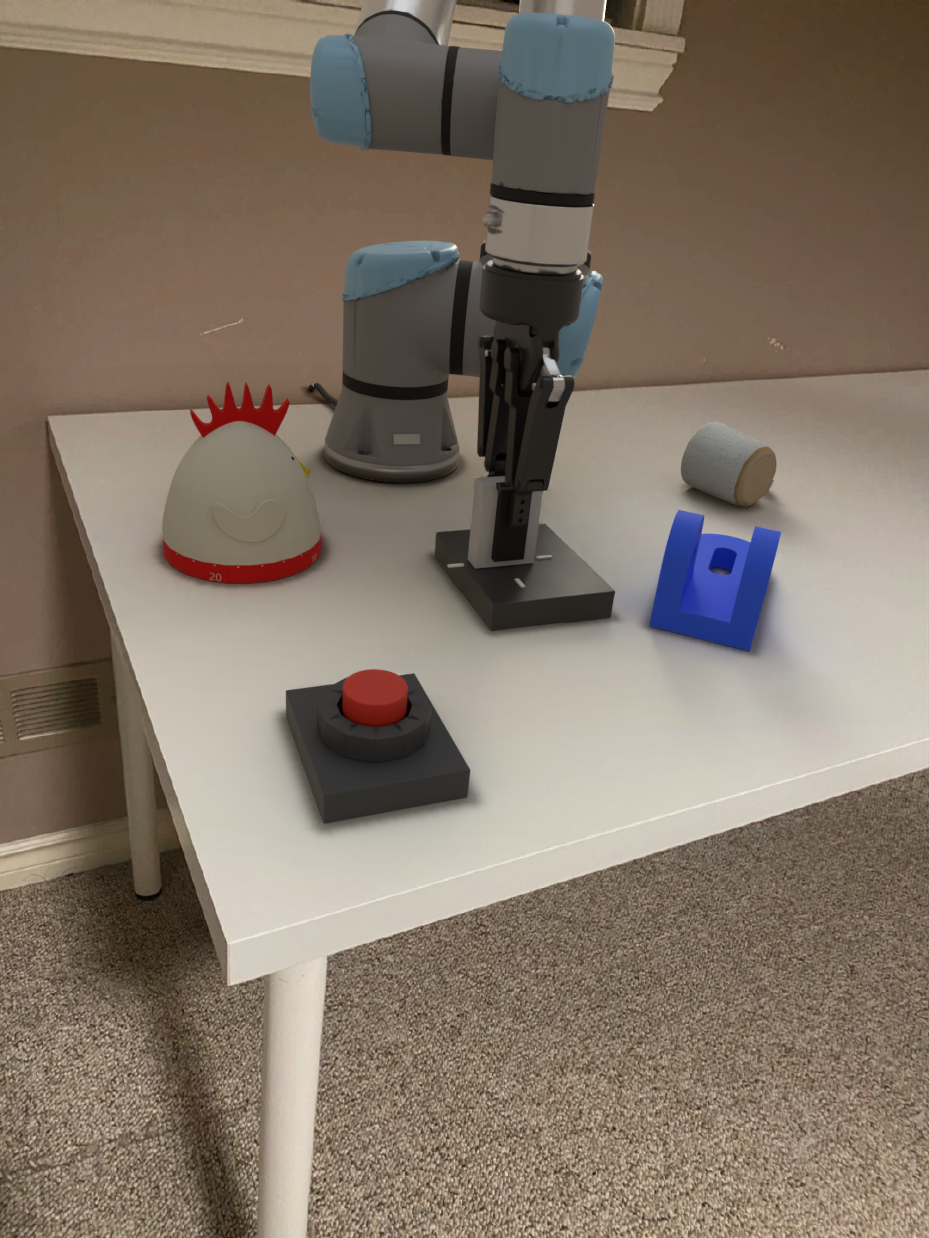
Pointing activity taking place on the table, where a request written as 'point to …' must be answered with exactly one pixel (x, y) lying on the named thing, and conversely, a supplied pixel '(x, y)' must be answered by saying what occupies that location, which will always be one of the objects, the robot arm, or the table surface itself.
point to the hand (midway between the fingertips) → (501, 551)
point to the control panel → (527, 584)
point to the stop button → (374, 698)
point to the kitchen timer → (241, 499)
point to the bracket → (713, 582)
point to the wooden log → (728, 464)
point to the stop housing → (374, 755)
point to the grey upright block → (485, 524)
